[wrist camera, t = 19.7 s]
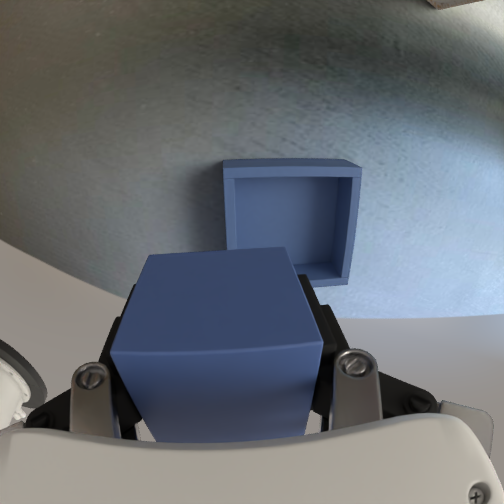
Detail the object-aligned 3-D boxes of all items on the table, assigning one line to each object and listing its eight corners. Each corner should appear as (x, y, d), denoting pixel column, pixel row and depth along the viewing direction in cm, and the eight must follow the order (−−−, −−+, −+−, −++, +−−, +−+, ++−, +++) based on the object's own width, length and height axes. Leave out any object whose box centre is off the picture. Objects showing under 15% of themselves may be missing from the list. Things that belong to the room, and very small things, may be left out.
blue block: (281, 345, 13) (303, 441, 9) (171, 351, 13) (159, 447, 8) (285, 245, 11) (325, 341, 6) (148, 253, 11) (107, 352, 6)
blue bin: (335, 265, 30) (347, 284, 26) (228, 272, 29) (229, 293, 26) (345, 159, 25) (362, 167, 22) (222, 159, 24) (222, 168, 21)
